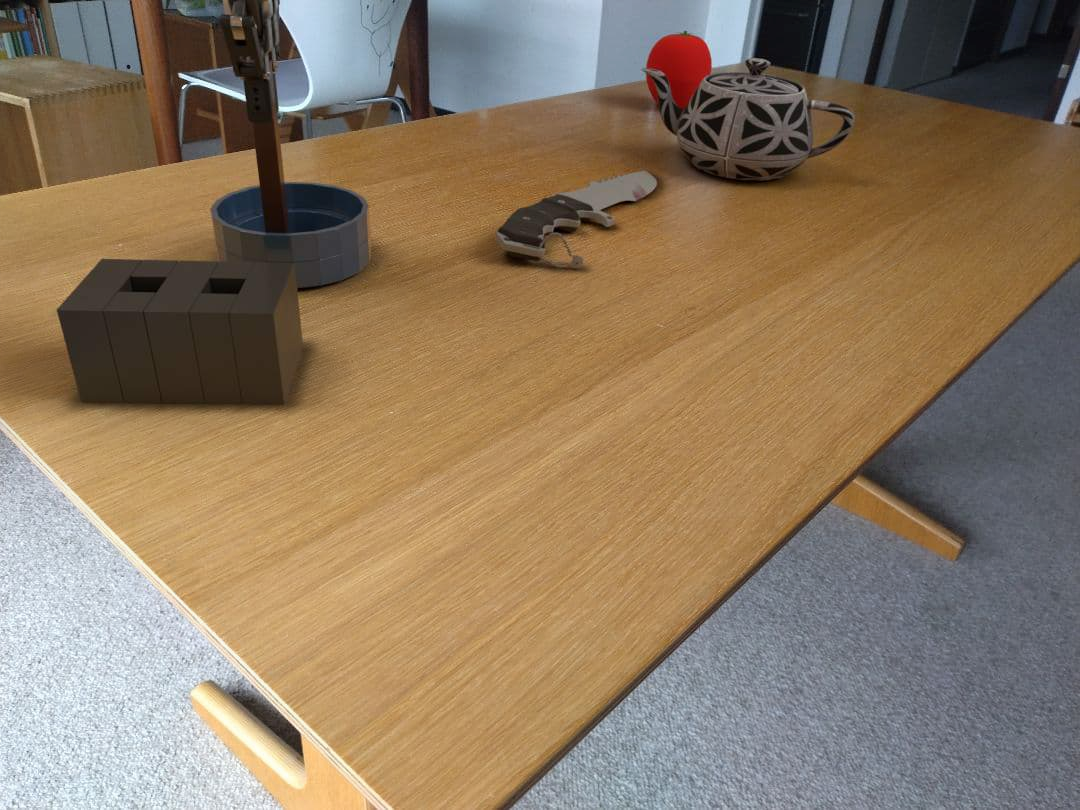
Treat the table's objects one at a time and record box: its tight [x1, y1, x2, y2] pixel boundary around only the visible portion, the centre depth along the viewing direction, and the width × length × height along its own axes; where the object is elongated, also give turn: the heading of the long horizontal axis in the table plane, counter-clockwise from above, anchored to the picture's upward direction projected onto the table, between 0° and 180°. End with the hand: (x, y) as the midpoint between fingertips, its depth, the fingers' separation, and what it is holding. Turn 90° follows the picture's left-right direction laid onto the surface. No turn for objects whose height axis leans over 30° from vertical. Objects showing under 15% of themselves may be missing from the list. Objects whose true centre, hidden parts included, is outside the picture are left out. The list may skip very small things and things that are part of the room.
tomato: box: [645, 30, 713, 110], centre depth 152 cm, size 11×11×13 cm
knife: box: [494, 170, 658, 270], centre depth 106 cm, size 36×10×4 cm, turn 159°
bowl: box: [209, 181, 372, 289], centre depth 89 cm, size 15×15×6 cm
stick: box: [246, 59, 290, 233], centre depth 84 cm, size 2×2×18 cm
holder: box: [56, 258, 304, 406], centre depth 69 cm, size 15×9×8 cm, turn 94°
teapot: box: [640, 57, 856, 182], centre depth 124 cm, size 19×31×15 cm, turn 68°
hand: (264, 117), depth 82 cm, fingers closed on stick, 2 cm apart
